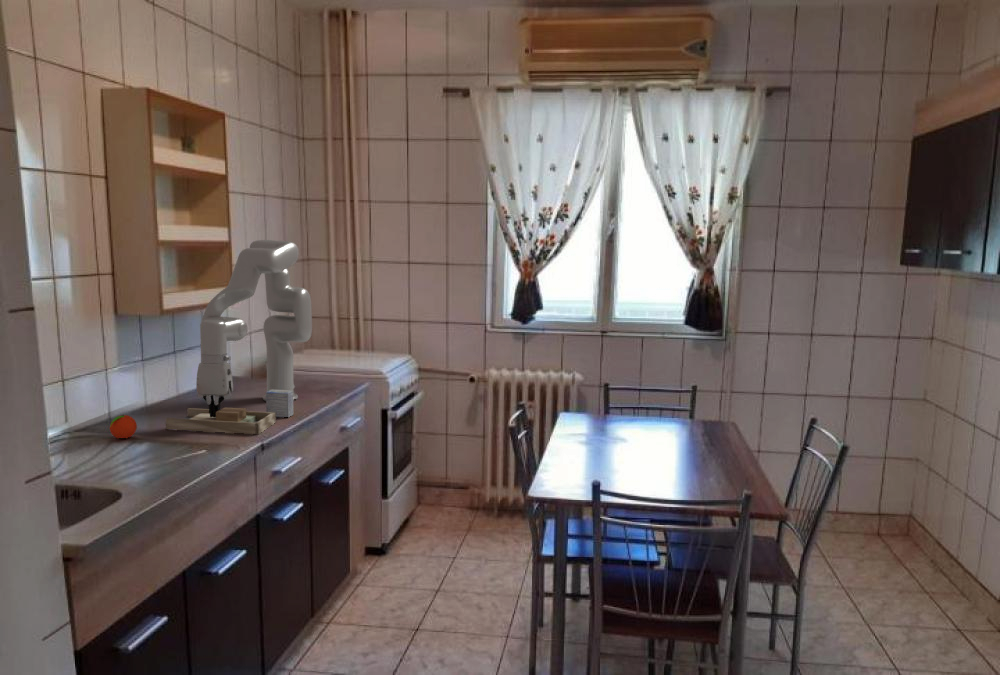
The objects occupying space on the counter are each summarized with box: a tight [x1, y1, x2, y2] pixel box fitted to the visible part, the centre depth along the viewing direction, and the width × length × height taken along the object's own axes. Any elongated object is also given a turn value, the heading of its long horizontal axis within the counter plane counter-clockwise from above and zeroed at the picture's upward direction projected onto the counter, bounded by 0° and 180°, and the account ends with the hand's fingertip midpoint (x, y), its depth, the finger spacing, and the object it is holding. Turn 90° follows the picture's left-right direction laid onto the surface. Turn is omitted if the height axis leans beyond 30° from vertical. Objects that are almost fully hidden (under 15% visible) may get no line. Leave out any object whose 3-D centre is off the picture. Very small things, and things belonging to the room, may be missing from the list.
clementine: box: [109, 414, 138, 439], centre depth 196 cm, size 8×7×7 cm
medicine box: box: [265, 390, 294, 419], centre depth 228 cm, size 8×4×9 cm, turn 84°
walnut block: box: [216, 407, 247, 422], centre depth 212 cm, size 6×7×3 cm
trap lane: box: [165, 407, 277, 436], centre depth 213 cm, size 14×29×4 cm, turn 87°
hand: (214, 416), depth 213 cm, fingers closed
